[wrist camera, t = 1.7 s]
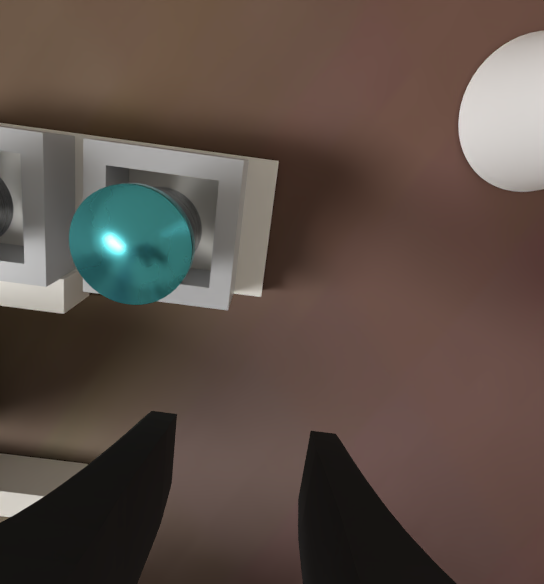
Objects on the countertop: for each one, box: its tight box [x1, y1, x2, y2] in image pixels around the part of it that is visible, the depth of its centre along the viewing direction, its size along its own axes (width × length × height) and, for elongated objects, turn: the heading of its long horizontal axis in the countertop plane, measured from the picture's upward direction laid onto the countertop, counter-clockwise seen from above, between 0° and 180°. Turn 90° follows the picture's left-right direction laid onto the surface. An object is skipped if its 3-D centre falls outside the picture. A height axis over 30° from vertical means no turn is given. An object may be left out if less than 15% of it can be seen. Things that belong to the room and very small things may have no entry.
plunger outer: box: [69, 183, 202, 305], centre depth 15 cm, size 4×4×4 cm
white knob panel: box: [0, 123, 279, 517], centre depth 19 cm, size 18×21×4 cm
